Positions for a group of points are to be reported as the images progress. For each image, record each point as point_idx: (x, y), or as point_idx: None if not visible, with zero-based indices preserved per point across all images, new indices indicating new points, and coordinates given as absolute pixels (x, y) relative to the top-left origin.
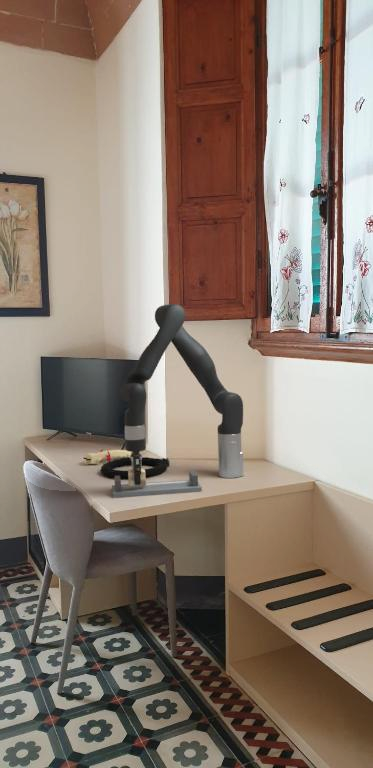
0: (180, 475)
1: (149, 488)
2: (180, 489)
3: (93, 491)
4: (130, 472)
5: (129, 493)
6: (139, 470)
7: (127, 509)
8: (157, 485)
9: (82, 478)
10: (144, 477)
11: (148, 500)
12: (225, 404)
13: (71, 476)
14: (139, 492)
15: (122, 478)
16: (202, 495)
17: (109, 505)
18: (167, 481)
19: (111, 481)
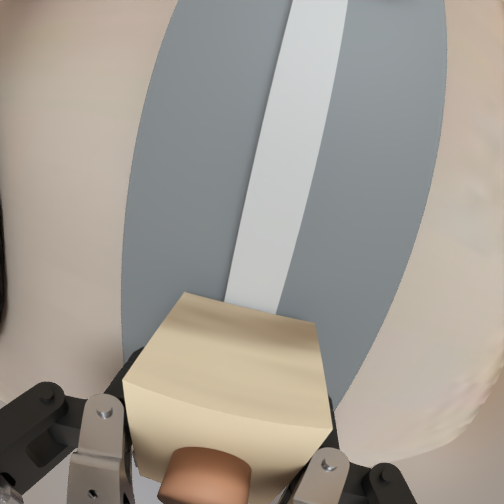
0: (40, 7)
1: (318, 278)
2: (444, 64)
3: None
4: (257, 499)
5: (333, 408)
6: (369, 499)
7: (474, 408)
8: (305, 194)
9: (11, 388)
10: (319, 384)
11: (459, 322)
12: None
13: (2, 393)
14: (360, 363)
15: (3, 300)
16: (494, 26)
17: (389, 454)
18: (163, 58)
19: (27, 346)
